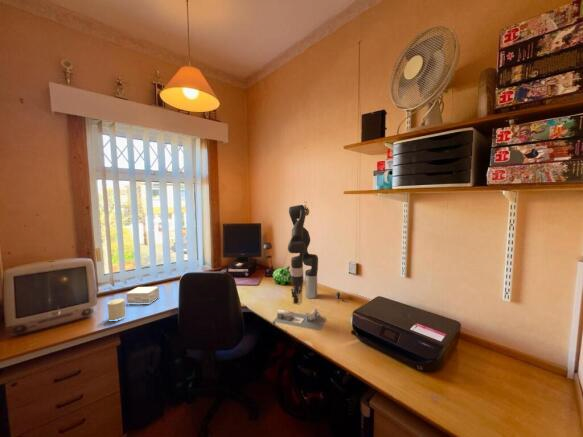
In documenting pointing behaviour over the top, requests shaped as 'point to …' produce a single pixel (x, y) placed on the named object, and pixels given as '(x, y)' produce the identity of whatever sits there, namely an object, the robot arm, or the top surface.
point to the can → (116, 309)
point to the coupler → (298, 298)
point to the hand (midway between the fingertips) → (297, 301)
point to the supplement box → (142, 295)
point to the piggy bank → (282, 275)
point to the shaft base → (301, 319)
